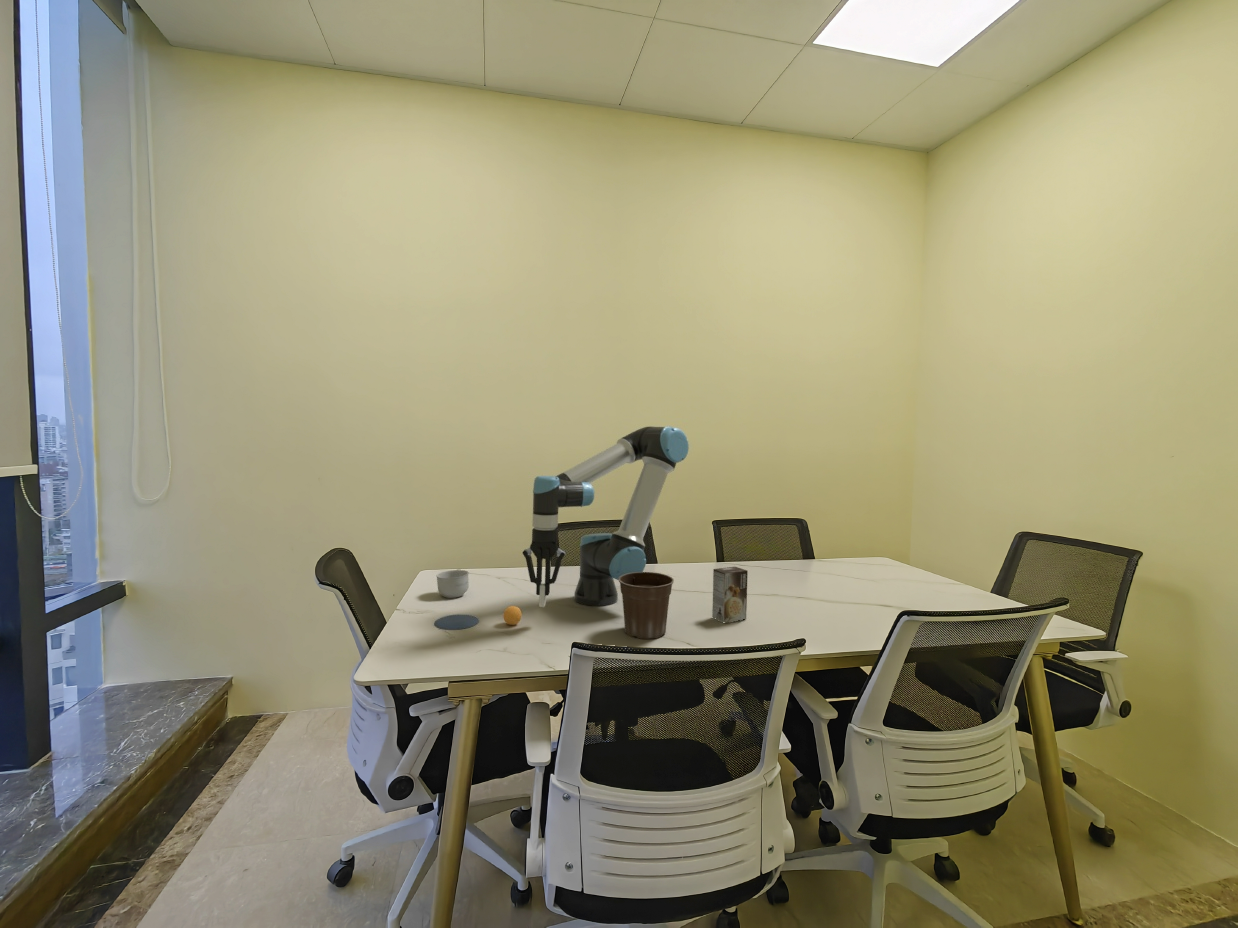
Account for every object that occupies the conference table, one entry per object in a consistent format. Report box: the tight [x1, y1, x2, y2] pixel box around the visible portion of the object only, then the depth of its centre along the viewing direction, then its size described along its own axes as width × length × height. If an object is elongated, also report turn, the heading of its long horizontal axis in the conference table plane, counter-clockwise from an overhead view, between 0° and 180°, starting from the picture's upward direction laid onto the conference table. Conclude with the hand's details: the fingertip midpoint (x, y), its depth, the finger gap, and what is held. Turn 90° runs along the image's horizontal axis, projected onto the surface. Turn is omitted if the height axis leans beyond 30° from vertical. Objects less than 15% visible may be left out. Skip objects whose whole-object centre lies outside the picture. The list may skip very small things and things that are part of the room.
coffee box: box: [711, 566, 749, 623], centre depth 184 cm, size 9×6×16 cm
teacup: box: [436, 568, 470, 599], centre depth 203 cm, size 14×11×8 cm
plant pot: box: [617, 571, 675, 640], centre depth 170 cm, size 16×16×16 cm
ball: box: [502, 605, 523, 626], centre depth 174 cm, size 6×6×6 cm
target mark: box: [434, 613, 480, 631], centre depth 175 cm, size 13×13×1 cm
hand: (542, 605), depth 173 cm, fingers closed
